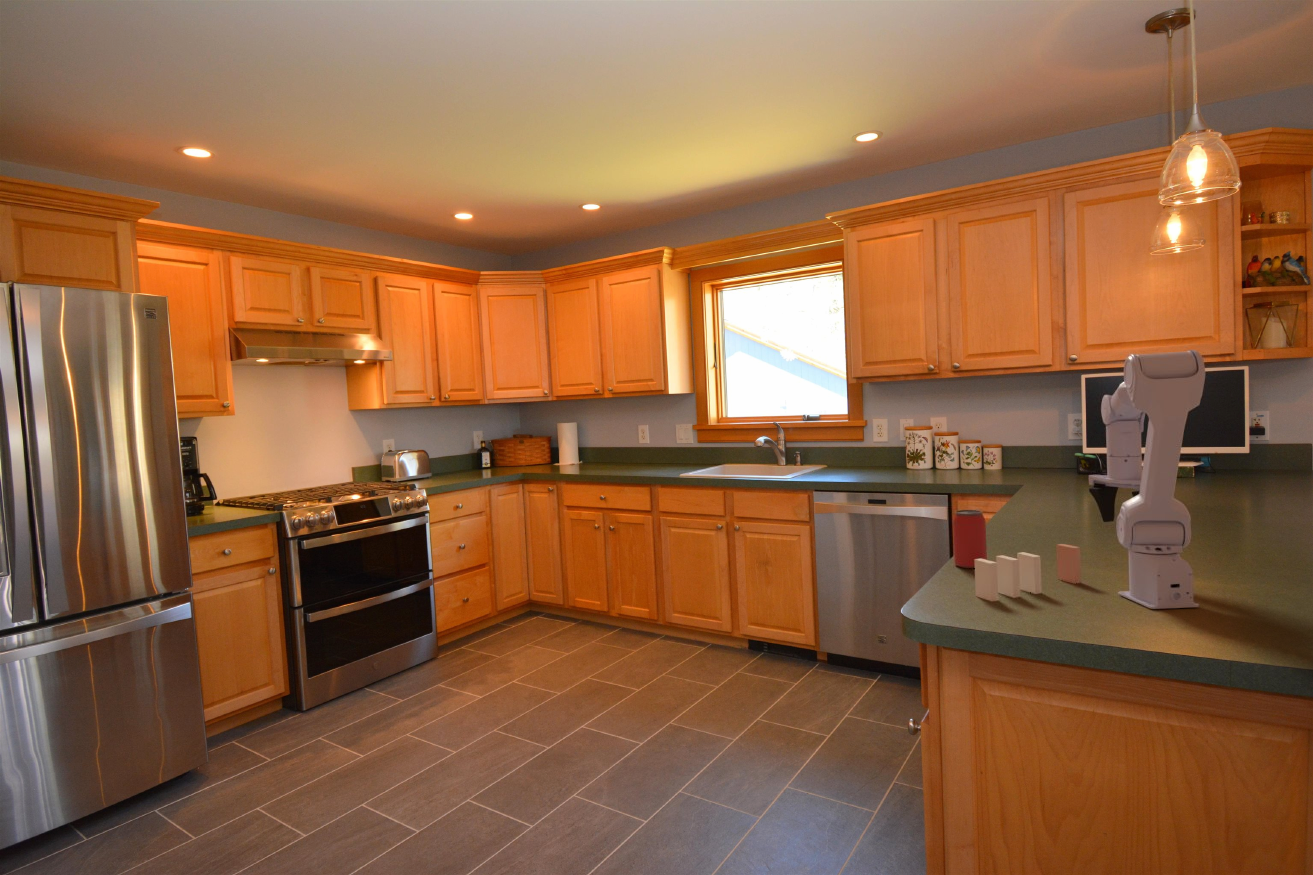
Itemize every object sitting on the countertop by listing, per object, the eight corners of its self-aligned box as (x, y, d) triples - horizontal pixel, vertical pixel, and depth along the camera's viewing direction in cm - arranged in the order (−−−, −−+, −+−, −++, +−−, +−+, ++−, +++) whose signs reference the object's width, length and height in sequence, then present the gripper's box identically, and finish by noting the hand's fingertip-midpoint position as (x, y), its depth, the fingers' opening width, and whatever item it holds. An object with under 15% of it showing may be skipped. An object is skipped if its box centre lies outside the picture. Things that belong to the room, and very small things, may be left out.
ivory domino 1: (982, 594, 132) (980, 558, 132) (998, 600, 129) (997, 562, 128) (975, 596, 132) (974, 559, 132) (991, 601, 128) (990, 563, 128)
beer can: (989, 569, 150) (986, 514, 150) (955, 569, 152) (953, 514, 152) (985, 562, 156) (983, 509, 156) (953, 561, 159) (951, 509, 158)
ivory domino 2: (1003, 591, 134) (1002, 555, 134) (1020, 596, 130) (1019, 559, 130) (997, 592, 133) (996, 556, 133) (1013, 597, 130) (1012, 560, 129)
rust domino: (1063, 578, 140) (1062, 543, 140) (1081, 582, 137) (1079, 547, 136) (1057, 579, 140) (1056, 544, 140) (1075, 583, 136) (1073, 548, 136)
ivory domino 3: (1024, 587, 135) (1023, 552, 135) (1041, 592, 132) (1040, 556, 131) (1018, 588, 135) (1017, 553, 135) (1035, 593, 131) (1034, 556, 131)
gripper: (1175, 456, 132) (1177, 527, 133) (1106, 452, 146) (1108, 517, 147) (1147, 459, 130) (1149, 531, 131) (1079, 455, 144) (1081, 520, 145)
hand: (1125, 524), depth 139 cm, fingers open, 7 cm apart
